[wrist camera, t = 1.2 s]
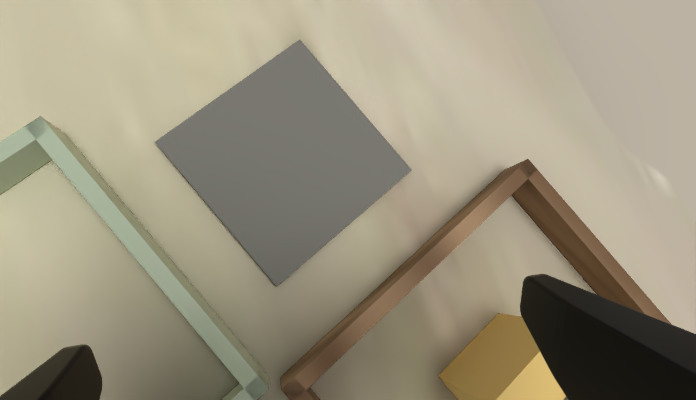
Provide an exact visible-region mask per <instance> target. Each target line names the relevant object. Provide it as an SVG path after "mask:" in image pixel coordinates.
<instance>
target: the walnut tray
mask: <svg viewBox="0 0 696 400" xmlns="http://www.w3.org/2000/svg"><path fill="white" fill-rule="evenodd" d="M511 195H512V196H513V197H514V198H515V200H516V201H517V202H518V203H519V204H520V205H521V206H522V208H523V209H524V210H525V211H526V212H527V213H528V215H529V216H530V217H531V218H532V219H533V220H534V222H535V223H536V224H537V225H538V226H539V227H540V228H541V230H542V231H543V232H544V233H545V234H546V235H547V237H548V238H549V239H550V240H551V241H552V242H553V244H554V245H555V246H556V247H557V248H558V249H559V251H560V252H561V253H562V254H563V255H564V256H565V257H566V259H567V260H568V261H569V262H570V263H571V264H572V266H573V267H574V268H575V269H576V270H577V271H578V273H579V274H580V275H581V276H582V277H583V278H584V279H585V281H586V282H587V283H588V284H589V285H590V286H591V288H592V289H593V290H594V291H595V292H596V293H597V295H598V296H601V297H603V298H606V299H609V300H611V301H614V302H616V303H619V304H621V305H624V306H626V307H629V308H631V309H634V310H636V311H639V312H641V313H644V314H646V315H649V316H651V317H654V318H656V319H659V320H661V321H664V322H666V323H669V324H671V323H670V322H669V321H668V320H667V319H666V318H665V316H664V315H663V314H662V313H661V312H660V311H659V309H658V308H657V307H656V306H655V305H654V304H653V302H652V301H651V300H650V299H649V298H648V297H647V296H646V294H645V293H644V292H643V291H642V290H641V289H640V287H639V286H638V285H637V284H636V283H635V282H634V281H633V279H632V278H631V277H630V276H629V275H628V274H627V272H626V271H625V270H624V269H623V268H622V267H621V266H620V264H619V263H618V262H617V261H616V260H615V259H614V257H613V256H612V255H611V254H610V253H609V252H608V251H607V249H606V248H605V247H604V246H603V245H602V244H601V242H600V241H599V240H598V239H597V238H596V237H595V236H594V234H593V233H592V232H591V231H590V230H589V229H588V227H587V226H586V225H585V224H584V223H583V222H582V221H581V219H580V218H579V217H578V216H577V215H576V214H575V212H574V211H573V210H572V209H571V208H570V207H569V206H568V204H567V203H566V202H565V201H564V200H563V199H562V197H561V196H560V195H559V194H558V193H557V192H556V191H555V189H554V188H553V187H552V186H551V185H550V184H549V182H548V181H547V180H546V179H545V178H544V177H543V175H542V174H541V173H540V172H539V171H538V170H537V169H536V167H535V166H534V165H533V164H532V163H531V162H530V160H529V159H527V160H525V161H523V162H520V163H518V164H516V165H514V166H512V167H510V168H507V169H505V170H504V171H503V172H502V173H501V174H500V175H499V176H498V177H497V178H495V179H494V180H493V181H492V182H491V183H490V184H489V185H488V186H487V187H486V188H485V189H484V190H483V191H481V192H480V193H479V194H478V195H477V196H476V197H475V198H474V199H473V200H472V201H471V202H470V203H468V204H467V205H466V206H465V207H464V208H463V209H462V210H461V211H460V212H459V213H458V214H457V215H456V216H454V217H453V218H452V219H451V220H450V221H449V222H448V223H447V224H446V225H445V226H444V227H443V228H441V229H440V230H439V231H438V232H437V233H436V234H435V235H434V236H433V237H432V238H431V239H430V240H429V241H427V242H426V243H425V244H424V245H423V246H422V247H421V248H420V249H419V250H418V251H417V252H416V253H414V254H413V255H412V256H411V257H410V258H409V259H408V260H407V261H406V262H405V263H404V264H403V265H402V266H400V267H399V268H398V269H397V270H396V271H395V272H394V273H393V274H392V275H391V276H390V277H389V278H387V279H386V280H385V281H384V282H383V283H382V284H381V285H380V286H379V287H378V288H377V289H376V290H375V291H373V292H372V293H371V294H370V295H369V296H368V297H367V298H366V299H365V300H364V301H363V302H362V303H360V304H359V305H358V306H357V307H356V308H355V309H354V310H353V311H352V312H351V313H350V314H349V315H347V316H346V317H345V318H344V319H343V320H342V321H341V322H340V323H339V324H338V325H337V326H336V327H335V328H333V329H332V330H331V331H330V332H329V333H328V334H327V335H326V336H325V337H324V338H323V339H322V340H320V341H319V342H318V343H317V344H316V345H315V346H314V347H313V348H312V349H311V350H310V351H309V352H308V353H306V354H305V355H304V356H303V357H302V358H301V359H300V360H299V361H298V362H297V363H296V364H295V365H293V366H292V367H291V368H290V369H289V370H288V371H287V372H286V373H285V374H284V375H283V376H282V377H281V390H282V391H283V392H284V393H285V394H286V396H287V397H288V398H289V399H290V400H320V399H319V397H318V396H317V395H316V394H315V393H314V392H313V390H312V389H311V388H310V386H311V385H312V384H313V383H314V382H315V381H316V380H317V379H318V378H319V377H320V376H321V375H322V374H323V373H324V372H326V371H327V370H328V369H329V368H330V367H331V366H332V365H333V364H334V363H335V362H336V361H337V360H338V359H339V358H340V357H341V356H342V355H343V354H344V353H346V352H347V351H348V350H349V349H350V348H351V347H352V346H353V345H354V344H355V343H356V342H357V341H358V340H359V339H360V338H361V337H362V336H363V335H364V334H366V333H367V332H368V331H369V330H370V329H371V328H372V327H373V326H374V325H375V324H376V323H377V322H378V321H379V320H380V319H381V318H382V317H383V316H384V315H386V314H387V313H388V312H389V311H390V310H391V309H392V308H393V307H394V306H395V305H396V304H397V303H398V302H399V301H400V300H401V299H402V298H403V297H404V296H405V295H407V294H408V293H409V292H410V291H411V290H412V289H413V288H414V287H415V286H416V285H417V284H418V283H419V282H420V281H421V280H422V279H423V278H424V277H425V276H427V275H428V274H429V273H430V272H431V271H432V270H433V269H434V268H435V267H436V266H437V265H438V264H439V263H440V262H441V261H442V260H443V259H444V258H445V257H447V256H448V255H449V254H450V253H451V252H452V251H453V250H454V249H455V248H456V247H457V246H458V245H459V244H460V243H461V242H462V241H463V240H464V239H465V238H467V237H468V236H469V235H470V234H471V233H472V232H473V231H474V230H475V229H476V228H477V227H478V226H479V225H480V224H481V223H482V222H483V221H484V220H485V219H486V218H488V217H489V216H490V215H491V214H492V213H493V212H494V211H495V210H496V209H497V208H498V207H499V206H500V205H501V204H502V203H503V202H504V201H505V200H506V199H508V198H509V197H510V196H511ZM671 325H672V324H671Z"/></svg>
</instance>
